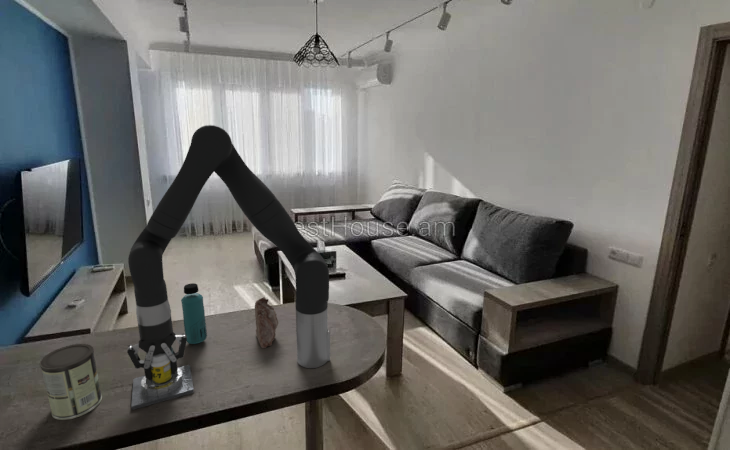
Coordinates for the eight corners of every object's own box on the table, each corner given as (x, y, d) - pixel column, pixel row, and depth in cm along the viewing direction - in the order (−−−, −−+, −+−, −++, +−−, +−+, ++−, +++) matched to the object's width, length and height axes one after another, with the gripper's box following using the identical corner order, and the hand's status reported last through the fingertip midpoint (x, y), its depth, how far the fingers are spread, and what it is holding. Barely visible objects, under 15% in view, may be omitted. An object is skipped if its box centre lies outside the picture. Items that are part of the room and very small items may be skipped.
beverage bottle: (202, 348, 120) (196, 289, 115) (181, 348, 120) (174, 289, 115) (211, 337, 126) (206, 281, 121) (191, 336, 126) (185, 280, 121)
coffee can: (70, 391, 100) (61, 343, 96) (111, 391, 100) (102, 343, 97) (39, 420, 90) (27, 368, 86) (84, 420, 90) (74, 368, 87)
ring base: (190, 367, 111) (189, 358, 110) (193, 392, 100) (192, 382, 100) (133, 381, 104) (132, 372, 103) (131, 410, 94) (130, 399, 93)
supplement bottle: (148, 384, 100) (144, 356, 98) (163, 373, 105) (159, 346, 103) (162, 388, 99) (158, 360, 97) (176, 377, 103) (173, 350, 101)
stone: (249, 295, 124) (252, 311, 116) (273, 291, 127) (277, 305, 118) (256, 333, 129) (259, 351, 121) (278, 328, 132) (282, 345, 123)
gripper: (120, 330, 90) (130, 392, 95) (186, 317, 97) (193, 375, 101) (122, 316, 97) (131, 375, 101) (184, 305, 103) (190, 360, 108)
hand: (162, 375), depth 101 cm, fingers closed on supplement bottle, 4 cm apart
